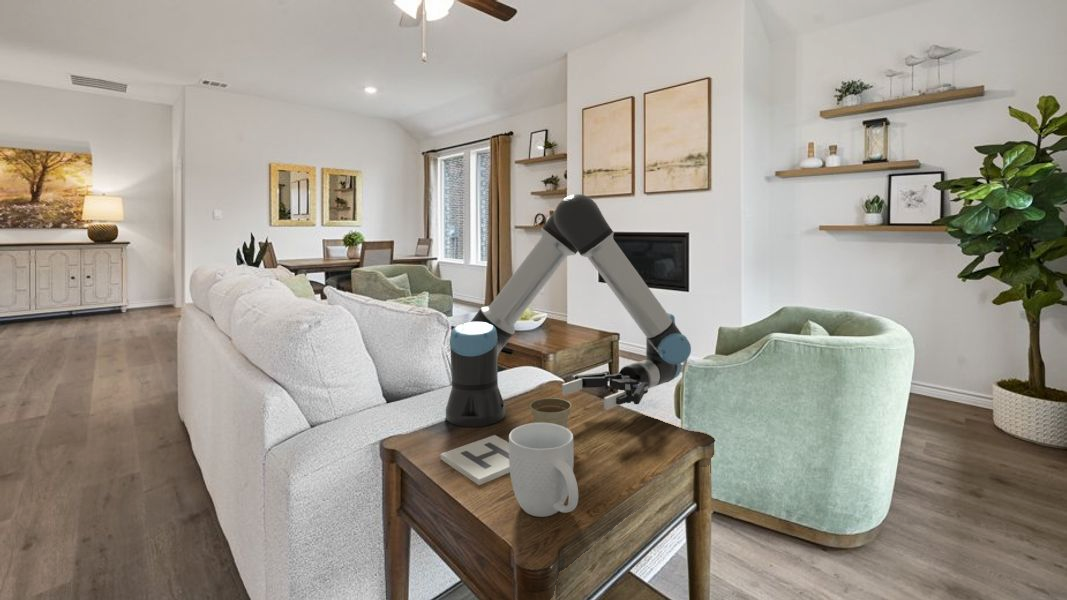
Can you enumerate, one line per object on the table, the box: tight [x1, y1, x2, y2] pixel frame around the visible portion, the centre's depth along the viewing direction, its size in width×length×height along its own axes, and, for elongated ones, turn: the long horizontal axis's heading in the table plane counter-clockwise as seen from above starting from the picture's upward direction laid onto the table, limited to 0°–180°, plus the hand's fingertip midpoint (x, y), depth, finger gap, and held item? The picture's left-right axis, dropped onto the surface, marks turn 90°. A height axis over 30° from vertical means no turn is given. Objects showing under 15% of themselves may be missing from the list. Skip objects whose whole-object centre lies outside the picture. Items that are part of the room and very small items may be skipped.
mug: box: [508, 422, 579, 518], centre depth 82 cm, size 15×11×13 cm
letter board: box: [440, 434, 510, 486], centre depth 101 cm, size 14×14×1 cm
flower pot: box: [529, 397, 573, 428], centre depth 109 cm, size 9×9×9 cm
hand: (582, 396), depth 115 cm, fingers open, 13 cm apart
